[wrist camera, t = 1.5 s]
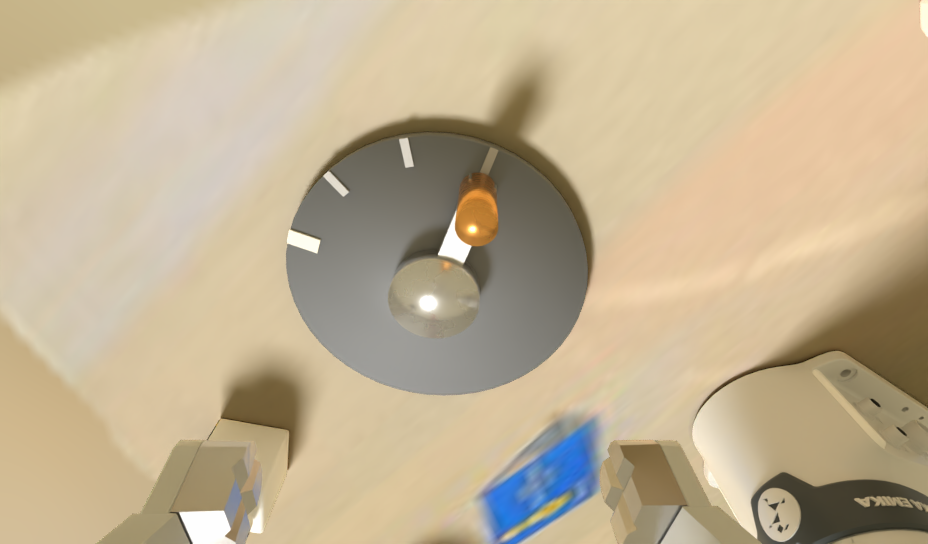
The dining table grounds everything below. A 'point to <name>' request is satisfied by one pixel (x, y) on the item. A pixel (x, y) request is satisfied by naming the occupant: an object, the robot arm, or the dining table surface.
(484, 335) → the dial plate
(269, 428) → the white square bottle
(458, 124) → the dining table surface
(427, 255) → the dial
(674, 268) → the dining table surface
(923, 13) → the white cup
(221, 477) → the robot arm
